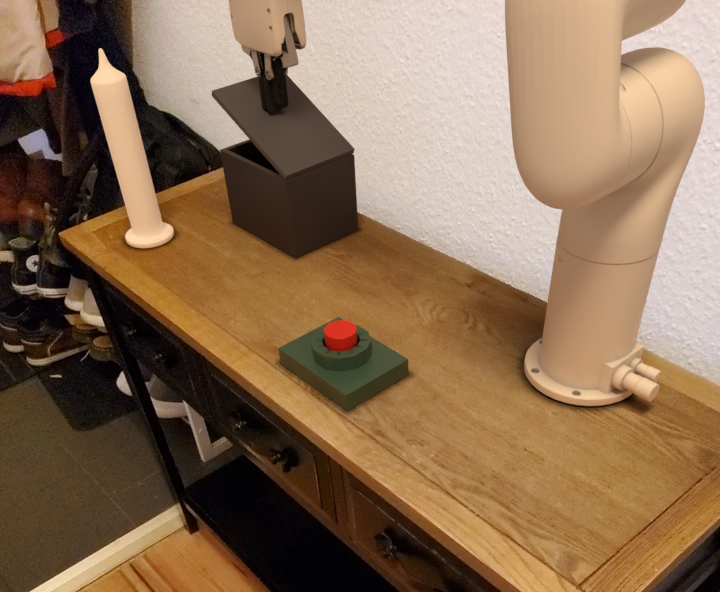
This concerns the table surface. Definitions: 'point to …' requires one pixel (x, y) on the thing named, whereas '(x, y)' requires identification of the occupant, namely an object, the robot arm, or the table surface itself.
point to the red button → (340, 335)
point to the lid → (284, 128)
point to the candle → (128, 157)
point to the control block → (344, 366)
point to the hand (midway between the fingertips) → (275, 107)
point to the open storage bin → (290, 200)
